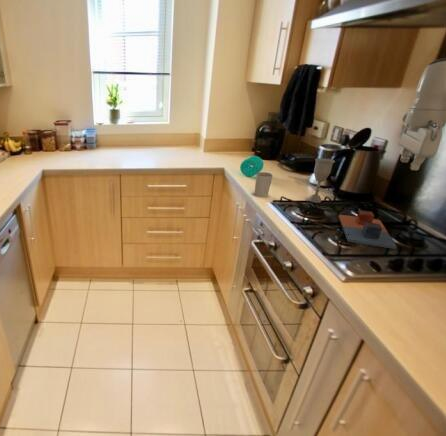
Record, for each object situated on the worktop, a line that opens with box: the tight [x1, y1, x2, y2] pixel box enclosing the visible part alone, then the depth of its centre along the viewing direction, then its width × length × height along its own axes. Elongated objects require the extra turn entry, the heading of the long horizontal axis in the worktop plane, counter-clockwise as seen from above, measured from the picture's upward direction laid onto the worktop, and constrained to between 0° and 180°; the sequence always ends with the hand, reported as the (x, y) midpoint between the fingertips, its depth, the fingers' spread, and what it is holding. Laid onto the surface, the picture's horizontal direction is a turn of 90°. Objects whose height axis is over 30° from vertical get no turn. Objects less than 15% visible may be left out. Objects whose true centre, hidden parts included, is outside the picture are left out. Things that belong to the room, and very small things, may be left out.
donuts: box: [239, 155, 264, 178], centre depth 174 cm, size 10×10×10 cm
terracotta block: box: [356, 210, 375, 225], centre depth 115 cm, size 4×4×4 cm
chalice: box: [308, 157, 336, 204], centre depth 136 cm, size 7×7×18 cm
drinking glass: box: [253, 171, 273, 198], centre depth 145 cm, size 7×7×10 cm
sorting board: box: [338, 214, 398, 250], centre depth 112 cm, size 13×22×1 cm, turn 154°
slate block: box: [362, 222, 382, 239], centre depth 106 cm, size 4×4×4 cm
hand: (408, 165), depth 97 cm, fingers open, 8 cm apart
